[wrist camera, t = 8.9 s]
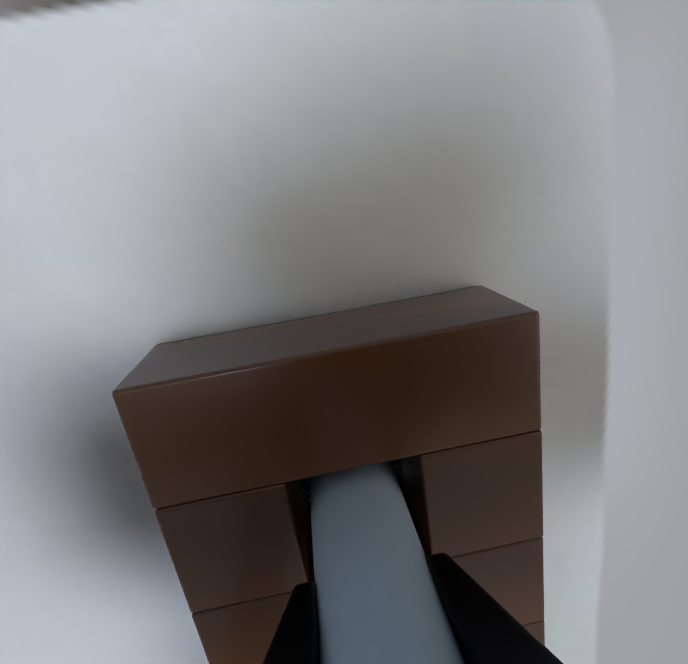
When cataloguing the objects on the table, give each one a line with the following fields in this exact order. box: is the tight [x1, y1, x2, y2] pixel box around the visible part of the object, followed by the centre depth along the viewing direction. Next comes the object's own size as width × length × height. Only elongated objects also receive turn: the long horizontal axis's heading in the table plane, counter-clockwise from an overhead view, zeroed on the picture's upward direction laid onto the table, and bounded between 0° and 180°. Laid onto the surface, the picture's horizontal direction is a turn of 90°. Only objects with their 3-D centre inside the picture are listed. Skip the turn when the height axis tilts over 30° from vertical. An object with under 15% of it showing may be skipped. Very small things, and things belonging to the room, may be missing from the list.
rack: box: [112, 286, 545, 664], centre depth 14 cm, size 22×9×3 cm, turn 9°
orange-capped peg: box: [309, 461, 465, 664], centre depth 7 cm, size 3×3×10 cm
